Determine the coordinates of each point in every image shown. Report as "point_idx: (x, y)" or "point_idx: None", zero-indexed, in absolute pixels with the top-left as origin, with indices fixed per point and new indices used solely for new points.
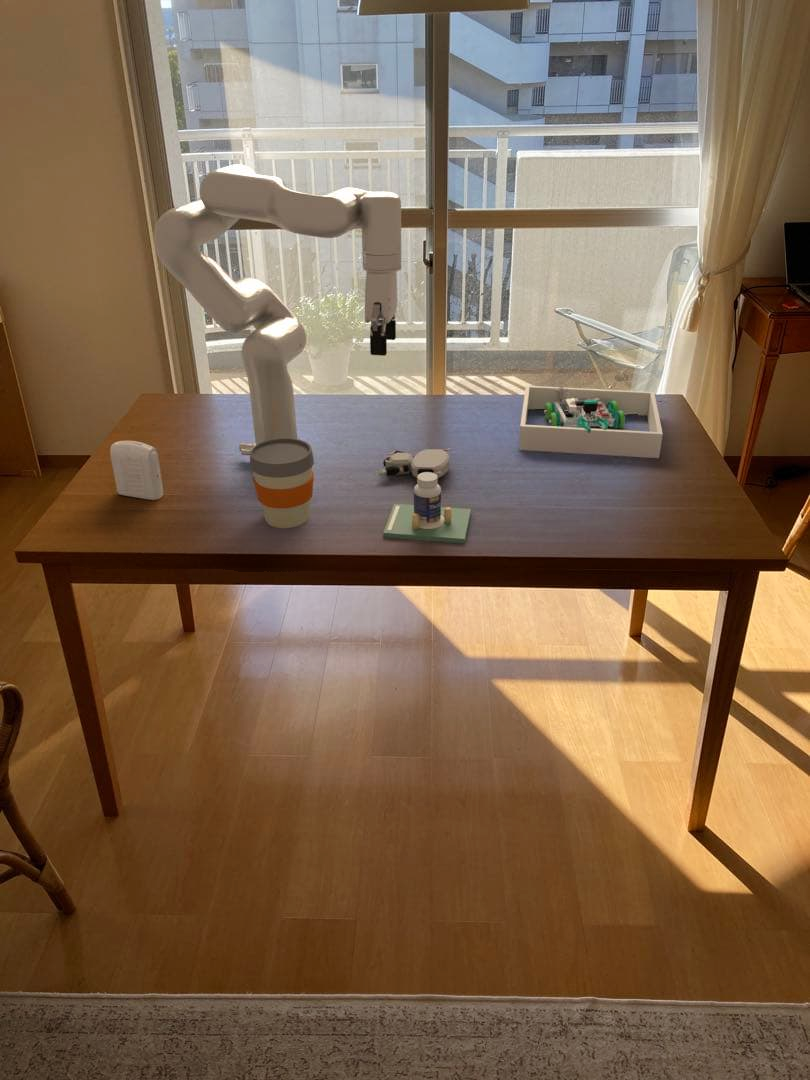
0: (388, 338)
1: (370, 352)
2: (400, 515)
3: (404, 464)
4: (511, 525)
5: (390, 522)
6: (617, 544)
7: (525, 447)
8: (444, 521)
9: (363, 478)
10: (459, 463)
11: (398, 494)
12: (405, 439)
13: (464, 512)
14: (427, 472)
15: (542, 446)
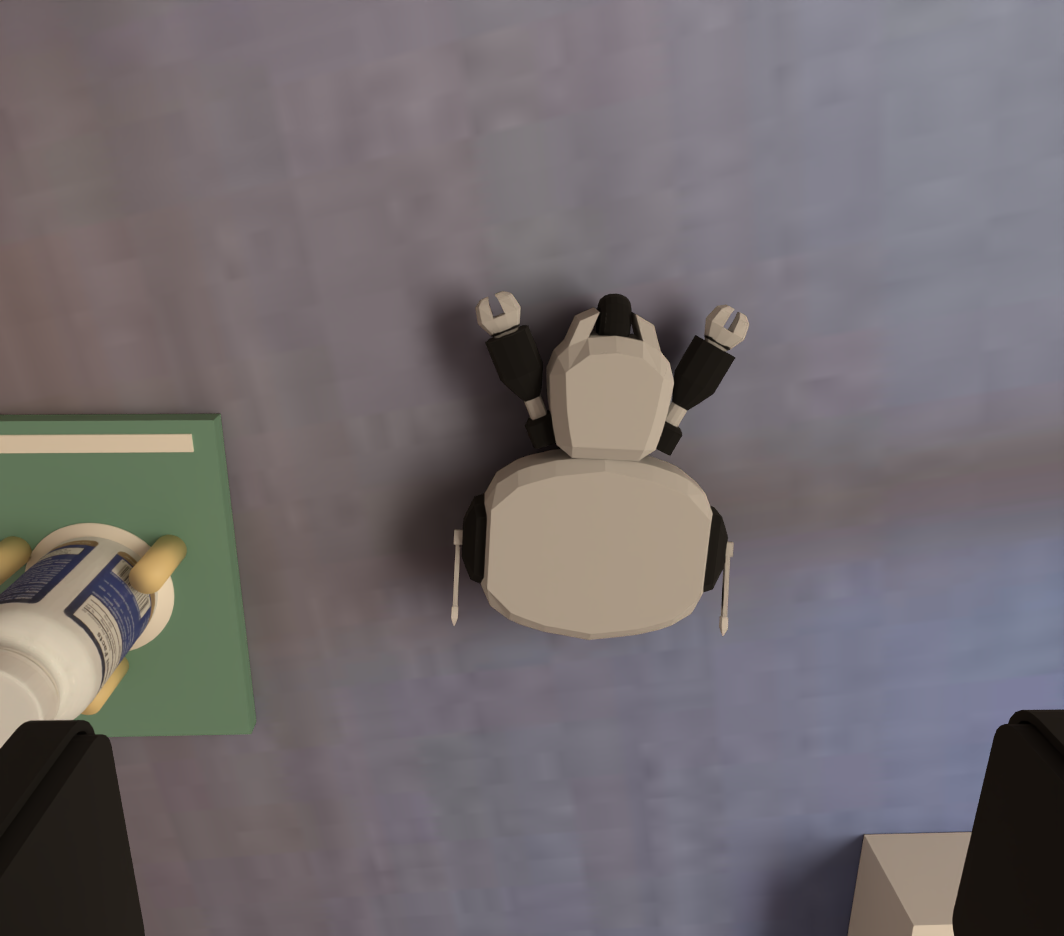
0: (979, 855)
1: (12, 736)
2: (109, 468)
3: (553, 426)
4: (202, 858)
5: (25, 437)
6: None
7: (866, 865)
8: None
9: (500, 197)
10: (716, 627)
11: (358, 409)
12: (991, 336)
13: (214, 714)
14: (33, 707)
15: (859, 929)
